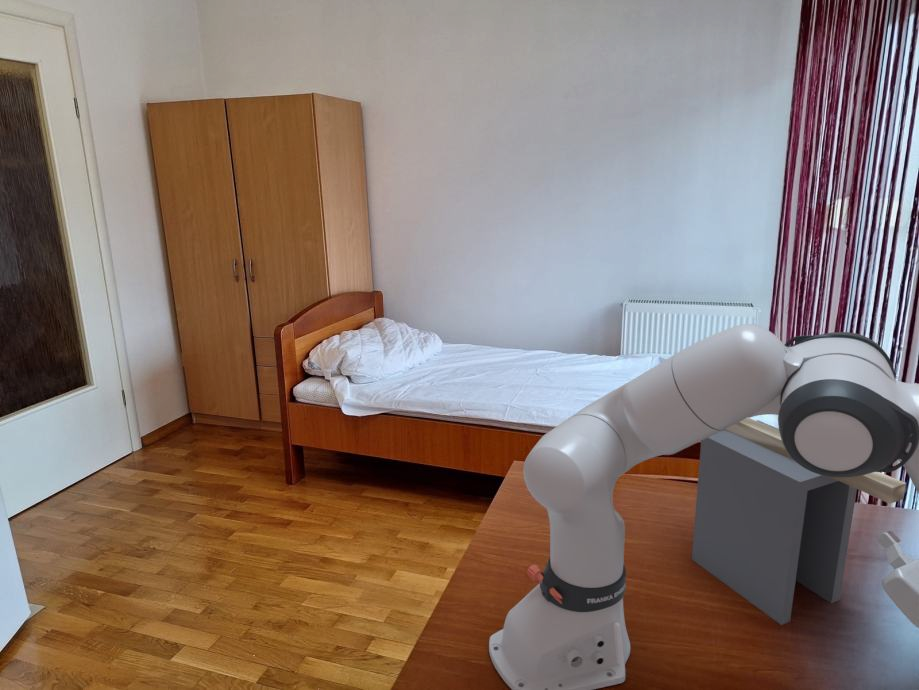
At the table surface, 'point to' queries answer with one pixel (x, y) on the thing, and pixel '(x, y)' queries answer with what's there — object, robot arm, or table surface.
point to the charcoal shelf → (769, 524)
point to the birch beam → (868, 483)
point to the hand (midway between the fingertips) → (904, 525)
